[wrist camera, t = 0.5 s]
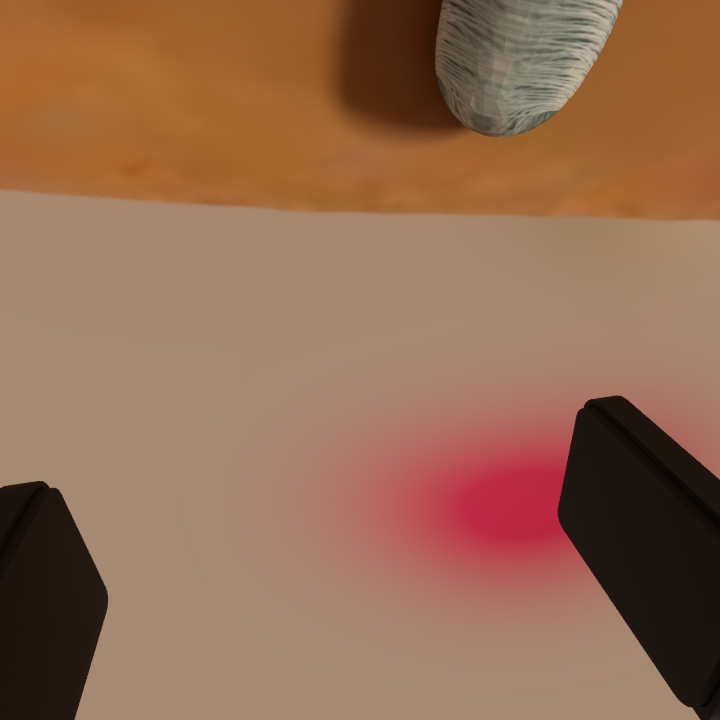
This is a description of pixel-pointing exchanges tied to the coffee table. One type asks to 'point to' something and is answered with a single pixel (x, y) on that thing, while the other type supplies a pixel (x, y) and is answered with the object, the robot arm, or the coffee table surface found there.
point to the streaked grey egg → (517, 58)
